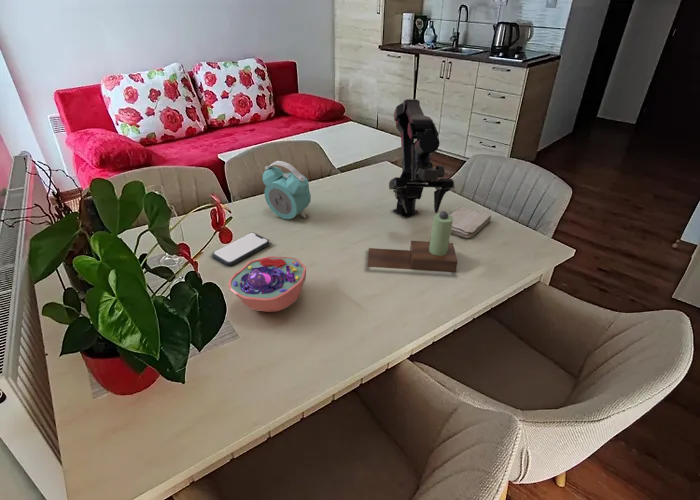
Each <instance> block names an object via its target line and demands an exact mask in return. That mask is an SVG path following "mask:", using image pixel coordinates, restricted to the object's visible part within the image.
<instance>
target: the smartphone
mask: <svg viewBox="0 0 700 500" xmlns="http://www.w3.org/2000/svg"><path fill="white" fill-rule="evenodd" d="M229 243H230V244H229ZM229 243H228V244H226V245H223V246H222V247H219V248H218V249H216V250H214V251H213V252H212V258H213V259H215V260H217V261H219V262H220V263H222V264H223V265H225V266H227V267H233V266H234V265H236V264H238V263H240V262H241V261H243V260H244V259H246V258H249V257H250V256H252V255H254V254H256V253H257V252H259V251H261V250H263V249H264V248H267V247H268V246H269V245H270V240H269V239H268V238H265V237H264V236H262V235H261V234H260V235H259V234H258V233H256V232H249V233H247V234H245V235H243V236H241V237H239V238H237V239H235V240H233V241H231V242H229Z"/></svg>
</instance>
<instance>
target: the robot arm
mask: <svg viewBox="0 0 700 500" xmlns="http://www.w3.org/2000/svg"><path fill="white" fill-rule="evenodd" d="M420 102H421V101H420V100H419V99H417V98H416V99H414V98H406V99H404V100H403V102H402V103H400V104H398V105H396V107H395V109H394V113H393V120H394V122H395V127H396V129H397V131H398V132H399V133H400V142H401V143H400V144H401V145H400V147H401V171H402V172H401V174H400V176H399V177H398V176H396V177H393V178H392V179H390V180H389V183H388V189H389V190H393V193H394V196H395V199H396V200H397V202H396V208H394V209H393V213H396V214H397V215H399V216H402V217H403V218H405V219H408V218H409V217H412V216H414V215H416V214H418V213H419V210H416V202H417V200H421V198H422V195H423V191H424V188H434V189H435V190H434V191H433V208H434V213H435V214H438V213H439V209H440V207H441V203H442V200H443V198H444V196H445V195H446V193H448V192H450V191H451V190H452V189H455V181H454V180H453V178H444V177H445V166H444V165H436V166H435V167H434V163H433V162H432V155H433V154H434V153H436V152H437V151H438V149H439V147H440V145H441V143H440V139H439V138H438V137H439V131H438V128H437V127H436V124H435V123H434V121H433V119H432V118H431V117H430V116H427V115H425V114H424V111H423V109H422V107H421V103H420ZM439 178H440V179H439Z"/></svg>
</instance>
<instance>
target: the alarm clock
mask: <svg viewBox="0 0 700 500" xmlns="http://www.w3.org/2000/svg"><path fill="white" fill-rule="evenodd" d="M275 165H276V166H275ZM277 166H279V167H283V168H285V169H286V170H289V171H290V172H284V171H283V170H282V169H281V168H279V167H277ZM263 170H264V172H263V173H262V182H263V184H264V186H265V188H264V198H265V202H266V205H268V208H270V210H271V211H272V212H273V213H274V214H275V216H277V217H279V218H281V219H282V220H291V219H294V218H295V217H296V216H298V215H299V216H301V218H304V219H305V218H307V215H306V213H305V212H304V210H305V209H306V208H308V207H309V205H310V203H311V198H312V195H311V191H310V184H309V180H308V178H307V177H306V176H305V175H304V174H302V173H300V172H299V171H298V169H296V167H294V166H293V165H292V164H291V163H288V162H286V161H282V160H276V161H274V162H272V163H271V164H269V165H266V166H264V169H263Z"/></svg>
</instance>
